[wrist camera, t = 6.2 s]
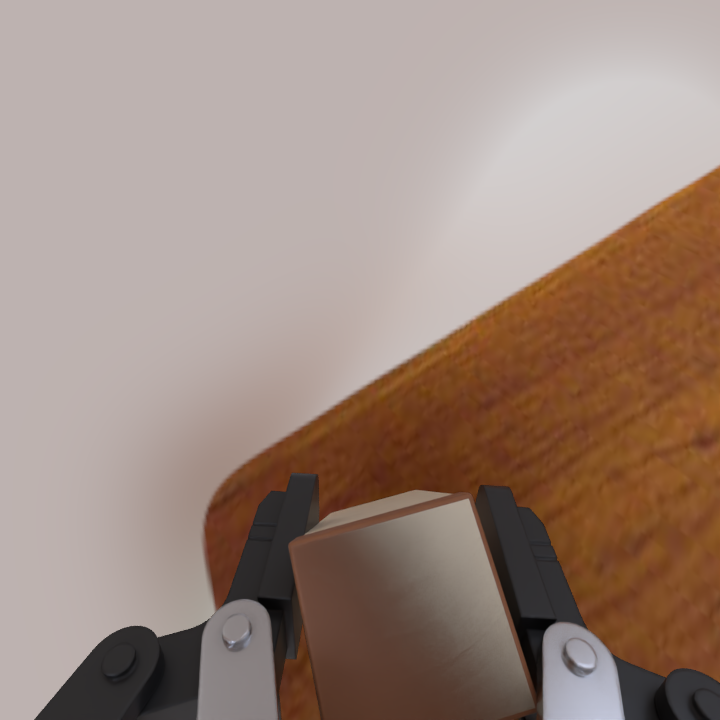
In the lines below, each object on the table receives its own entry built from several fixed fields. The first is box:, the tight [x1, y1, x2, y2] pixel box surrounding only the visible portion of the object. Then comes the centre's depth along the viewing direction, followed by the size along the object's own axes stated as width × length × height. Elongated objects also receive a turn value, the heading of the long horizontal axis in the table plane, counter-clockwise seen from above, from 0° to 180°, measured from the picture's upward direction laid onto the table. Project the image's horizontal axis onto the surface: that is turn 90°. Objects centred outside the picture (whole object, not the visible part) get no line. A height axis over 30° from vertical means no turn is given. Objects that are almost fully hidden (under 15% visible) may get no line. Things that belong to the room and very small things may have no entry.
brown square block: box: [288, 490, 537, 720], centre depth 12 cm, size 4×4×9 cm
